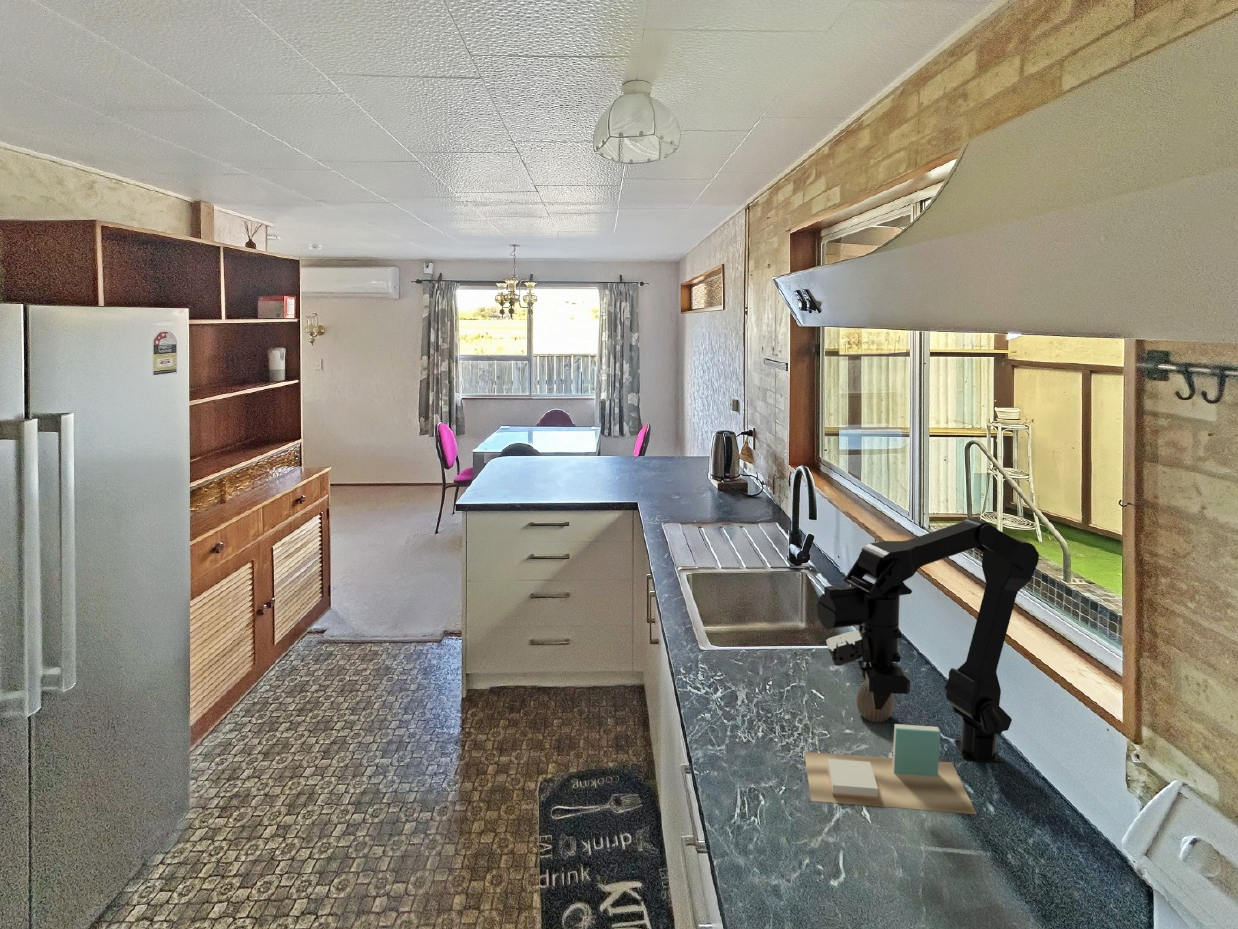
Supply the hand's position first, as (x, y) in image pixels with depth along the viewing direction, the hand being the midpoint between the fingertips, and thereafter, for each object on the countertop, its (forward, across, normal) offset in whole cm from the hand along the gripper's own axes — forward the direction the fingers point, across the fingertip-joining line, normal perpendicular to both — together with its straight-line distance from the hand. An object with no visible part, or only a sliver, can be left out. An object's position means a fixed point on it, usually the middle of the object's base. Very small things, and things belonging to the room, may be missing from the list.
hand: (878, 708), depth 133 cm
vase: (+12, -20, +3) cm, 23 cm away
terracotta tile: (+10, +1, -5) cm, 11 cm away
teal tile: (+11, 0, +6) cm, 13 cm away
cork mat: (+12, +4, +1) cm, 12 cm away
